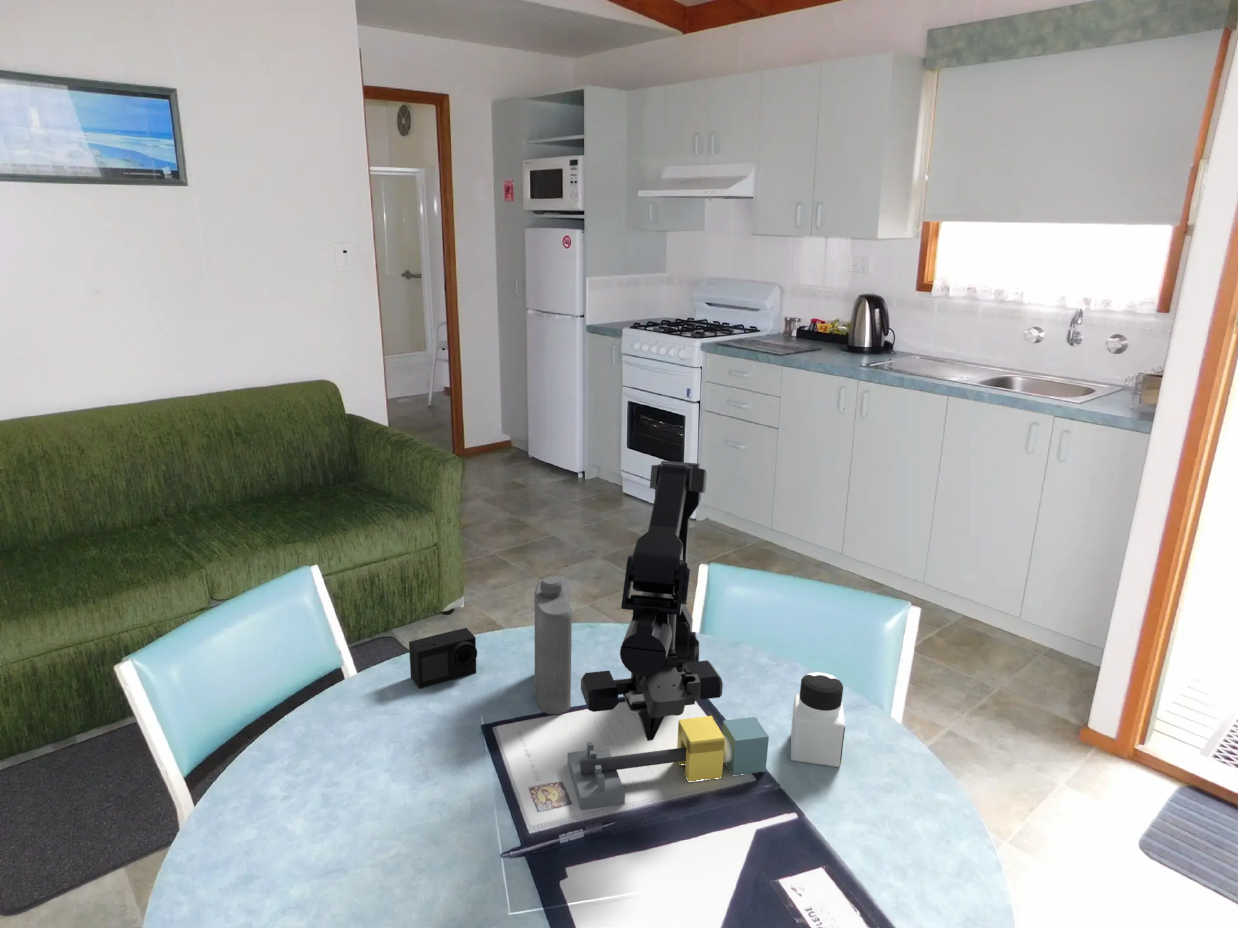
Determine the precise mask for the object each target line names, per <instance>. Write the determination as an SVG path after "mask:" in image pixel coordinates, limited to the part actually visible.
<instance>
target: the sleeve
mask: <svg viewBox="0 0 1238 928" xmlns="http://www.w3.org/2000/svg"><path fill="white" fill-rule="evenodd" d="M677 723H678V724H677V725H678V727H677V741H676V742H677V746H676V748H684V747H686V761H681V762H679V764H680V765H681V764H686V765H684V766H685V770H684V777H685V776H686V777H687V779H688V781H696V780H701V779H704V780H705V779H715V778H720V777H721V778H722V779H723V768H724V767H723V766H724V763H723V755H724V741H725V737H724V735H723V734H722V731H721V729H720V728H719V726H718V724H717V723H716V720H714V718H713V716H712V715H708V716H707V715H706V716H699V717H692V718H682V719H678V722H677ZM679 764H678V765H679Z"/></svg>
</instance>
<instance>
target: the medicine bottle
mask: <svg viewBox="0 0 1238 928" xmlns="http://www.w3.org/2000/svg"><path fill="white" fill-rule="evenodd" d="M843 693H844V686H843V683H842V682H841V680H840V679H838V678H837V676H835V675H832V674H829V673H826V672H825V673H824V672H818V671H817V672H810V673H807V674H805V675H804V676H802V678H801V679H800V690H799V694H798V693H796V694H795V695H794V699H793V709H792V716H791V717H792V719H791V729H790V759H791V761H793V762H799V763H806V764H814V765H820V766H821V765H822V766H827V767H834V768H840V767H841V765H842V758H843V747H844V742H845V741H844V739H845V732H846V731H845V730H846V721H845V710H844V703H843V702H844V701H843Z"/></svg>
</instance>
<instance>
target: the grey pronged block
mask: <svg viewBox="0 0 1238 928" xmlns="http://www.w3.org/2000/svg"><path fill="white" fill-rule="evenodd" d="M594 745H595V744H594V742H593V741H587V742H586V750H579V751H572V752H567V767H568V770H569V774H570V777H571V781H572V784H573V788H574V791H575V795H576V798H577V802H578V805H579V809H580V811H585V810H591V809H598V808H599V809H600V808H605V807H612V806H620V805H625V804H626V800H625V799H626V791H625V789H624V786H623V783H622V781H621V777H620V774H619V773H618V770H612V771H605V772H602V768H601V765H596V766H595V773H589V774H581V770H580V761H582V760H590V759H597V758H605V757H613V756H612V754H611V751H610V748H609V747H603V748H595V749H594V747H595V746H594Z"/></svg>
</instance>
